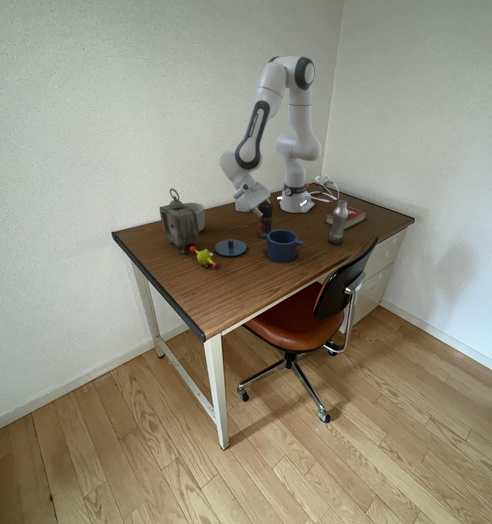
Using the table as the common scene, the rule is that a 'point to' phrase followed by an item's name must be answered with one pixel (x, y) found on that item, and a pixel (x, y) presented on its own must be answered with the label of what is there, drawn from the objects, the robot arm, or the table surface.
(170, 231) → the tabletop clock
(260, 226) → the deodorant
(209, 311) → the table surface
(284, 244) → the pot
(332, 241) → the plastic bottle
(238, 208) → the medicine bottle
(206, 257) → the toy figure
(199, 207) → the planter
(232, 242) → the pot lid
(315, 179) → the earphone
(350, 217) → the hardcover book
